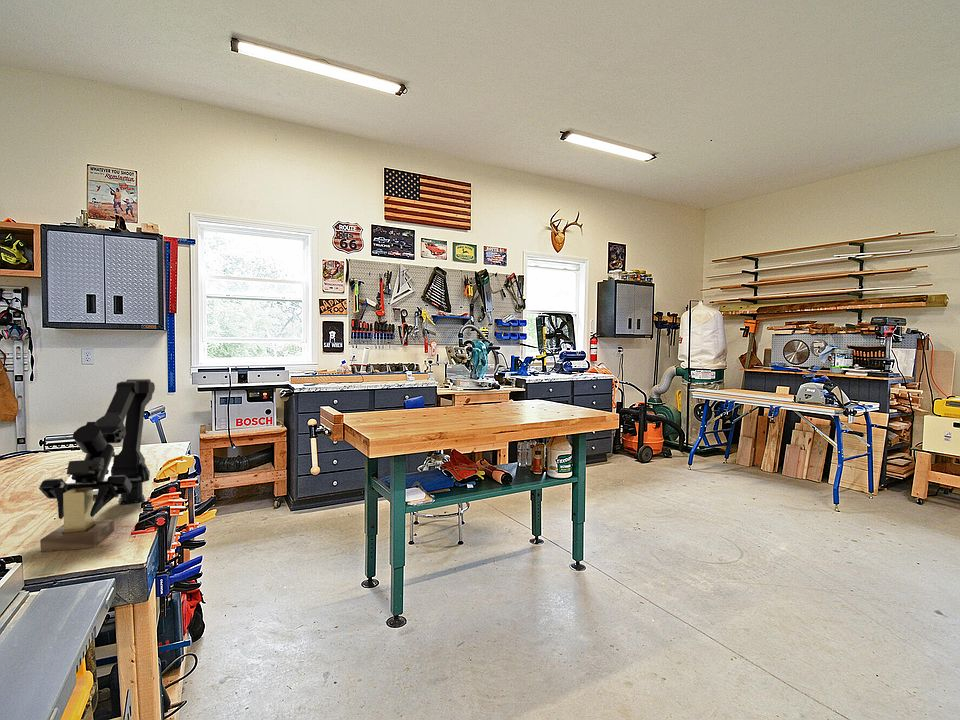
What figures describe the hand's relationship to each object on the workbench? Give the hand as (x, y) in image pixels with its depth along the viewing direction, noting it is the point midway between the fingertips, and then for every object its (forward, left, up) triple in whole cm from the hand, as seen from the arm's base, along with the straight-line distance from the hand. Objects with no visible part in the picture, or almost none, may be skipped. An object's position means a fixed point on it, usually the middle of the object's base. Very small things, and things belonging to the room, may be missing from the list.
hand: (75, 517), depth 123 cm
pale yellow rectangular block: (-1, +1, -7) cm, 7 cm away
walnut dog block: (-1, +1, -7) cm, 7 cm away
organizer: (-57, +3, -7) cm, 57 cm away
